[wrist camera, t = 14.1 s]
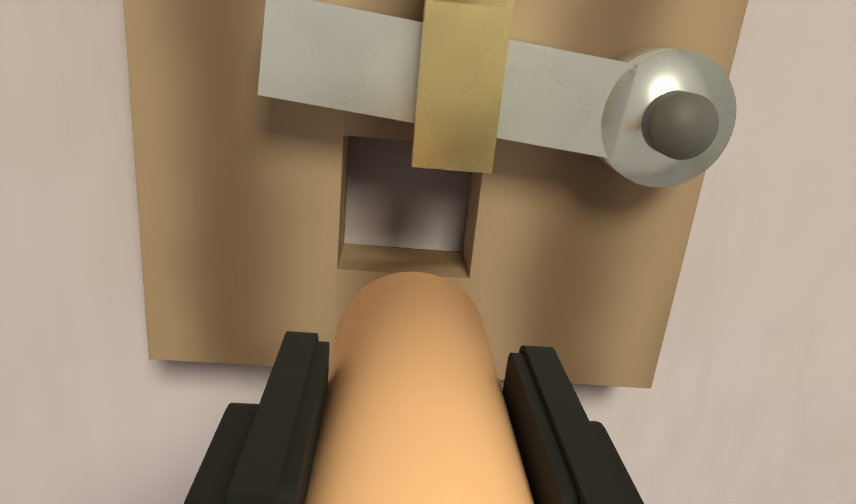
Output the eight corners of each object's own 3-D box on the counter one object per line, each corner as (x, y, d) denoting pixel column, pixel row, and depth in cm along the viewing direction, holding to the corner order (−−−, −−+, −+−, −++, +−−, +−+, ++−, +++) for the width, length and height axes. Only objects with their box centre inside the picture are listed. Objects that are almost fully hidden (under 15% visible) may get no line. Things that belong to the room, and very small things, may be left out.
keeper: (499, -53, 20) (524, -74, 16) (474, 146, 22) (491, 173, 18) (426, -61, 20) (433, -84, 16) (409, 140, 22) (411, 167, 18)
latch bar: (718, 59, 22) (755, 63, 19) (679, 180, 23) (709, 197, 21) (283, -28, 20) (268, -35, 18) (270, 107, 21) (255, 117, 19)
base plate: (716, -39, 23) (838, -64, 17) (626, 353, 29) (691, 446, 23) (151, -101, 22) (47, -155, 15) (174, 325, 28) (105, 416, 21)
